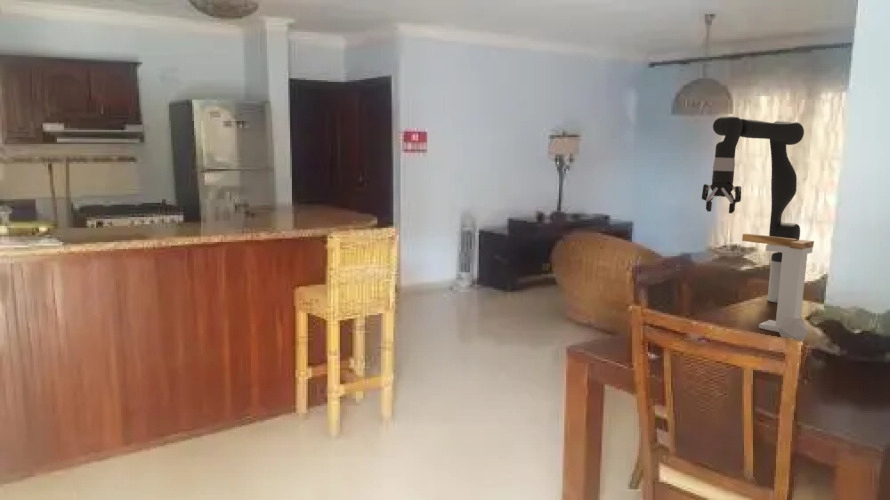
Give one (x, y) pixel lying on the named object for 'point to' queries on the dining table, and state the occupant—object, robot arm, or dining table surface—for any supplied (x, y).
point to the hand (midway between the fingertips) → (719, 212)
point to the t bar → (778, 241)
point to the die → (793, 328)
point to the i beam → (789, 284)
